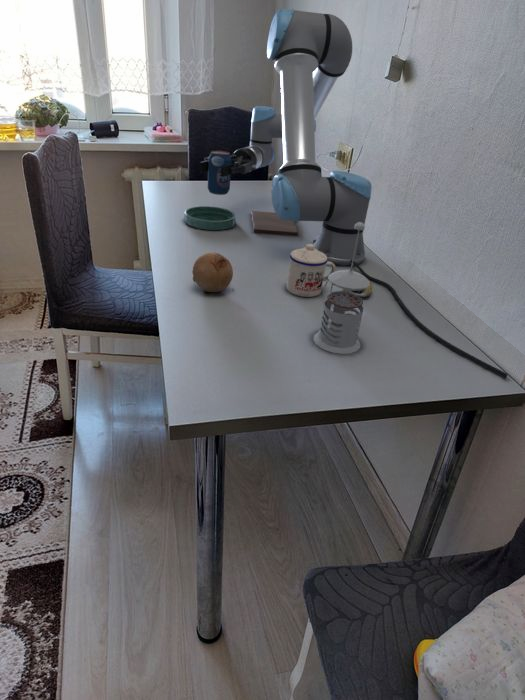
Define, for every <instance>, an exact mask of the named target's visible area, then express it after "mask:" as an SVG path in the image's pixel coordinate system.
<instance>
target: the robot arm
mask: <svg viewBox="0 0 525 700" xmlns="http://www.w3.org/2000/svg"><path fill="white" fill-rule="evenodd" d="M266 44H267V45H266V46H267V47H266V56H267V59H268V60H270V61H271V62H272V61H274V70H275V72H276V73H277V74H279V76H280V88H281V89H280V93H281V94H280V96H281V113H276V110H275V108H274V107H271V106H264V105H256V106H254V107H253V109H252V114H251V120H250V122H251V124H250V125H251V126H250V138H249V140H250V141H249V145H248V146H245V147H242V148H238V149H236V150H235V151H234V152H233V153H232V154H230V157H231V164H230V165H226V166H223V167H221V176H222V177H224V176H227V175H230V174H231V175H233V174H235V175H236V174H239V173H240V175H246V174H247V173H251V172H253V171H256V170H257V169H260V168H265V167H267V166H268V165H270V164H272V163H273V162H274V160H275V158H276V157H275V156H276V152H275V148H274V147H273V146H272V144H273V139H282V154H283V155H282V157H283V164H282V165H281V166H280V167H279V168H278V170H277V174H275V176H273V178H272V182H271V201H272V205H273V210H274V213H276V214H277V216H278V217H279V218H280V219H282V220H289V221H294V223H295V222H296V223H297V222H322V226H321V229H320V231H319V233H318V235H317V237H316V239H313V241H312V244H313V245H314V246H315V249H317V250H318V251H320V252H322V253H324V254H325V255H326V256H327V259H328V262H332V263H333V264H334V265H335V266H343V267H344V266H346V267H351V265H352V260H353V254H354V249H355V244H356V239H357V234H358V230H356V229H355V228H354V225H355V224H356V223H358V222H361V223H363V224H364V226H365V224H366V219H367V216H368V215H367V214H368V210H369V205H370V200H371V196H372V187H373V186H372V182H371V181H370V180H369V179H367V178H366V177H363V176H361V175H358V174H355V173H351V172H347V171H344V170H331V172H330V173H329V176H323V175H322V166H321V165H319V164H318V162H317V161H316V134H315V132H316V130H317V122H316V121H317V120H316V117H317V116H318V114H319V113H320V110H321V108H322V107H323V105H324V103H325V101H326V99H327V98H328V96H329V94H330V92H331V91H332V89H333V87H334V86H335V83H336V81H337V80H338V78H341V77H342V76H343V75H344V74H345V73H346V71H347V70H348V67H349V66H350V63H351V61H352V56H353V38H352V35H351V32H350V30H349V28H348V26H347V24H346V23H345V22H344V20H342V19H341V18H340V17H338V16H336V15H334V14H331V13H320V12H314V11H313V12H312V11H305V10H304V11H303V10H295V9H294V8H292V9H289V8H279V10H277V11H276V12H275V13H274V16H273V18H272V20H271V24H270V27H269V32H268V38H267V43H266ZM208 163H209V156H208V157H204V160H203V161H199V164H198V165H199V166H198V167H199V168H198V172H200V173H203V172H208ZM231 175H230V176H231ZM365 256H366V251H365V241H364V230H360V231H359V236H358V241H357V246H356V251H355V256H354V261H353V266H354V267H355V268H357V270H358V271H359V273H360V274H361V275H363V276H365V277H366V278H367V279H368V280H369V281H373V282H374V283H378V284H380V285H383V286H384V287H386V288H388V290H389V291H391V293H392V296H393V297H394V298H395V300H396V301H397V302H398V304H399V305H400V307H401V308H402V309H403V311H404V312H405V313H406V314H407V315H408V316H409V318H410V319H411V320H412V321H413V322H414V323H415V324H416V325H417V326H418V327H420V329H422V330H423V331H424V332H426V333H427V334H428V335H430V337H432V338H434V339H435V340H436V341H438V342H439V343H441V344H443V345H444V346H445V347H448V348H450V350H452V351H454V352H456V353H458V354H460V355H461V356H463V357H465V358H467V359H469V360H471V361H473V362H474V363H477V364H478V365H481V366H482V367H484V368H486V369H488V370H489V371H492V372H494V373H496V374H498V375H499V376H502V377H503V378H507V377H508V375H509V374H508V373H506V372H505V371H503V370H501V369H499V368H497V367H495V366H493V365H491V364H489V363H487V362H485V361H483V360H481V359H479V358H477V357H476V356H474V355H472V354H470V353H468V352H467V351H464V350H462V349H461V348H459V347H457V346H455V345H454V344H452V343H450V342H449V341H447V340H445V339H444V338H442V337H441V336H439V335H438V334H436V333H435V332H433V331H432V330H431V329H429V328H428V327H427V326H425V325H424V324H423V323H422V322H420V321H419V320H418V318H417V317H416V316H415V315H413V313H412V312H411V311H410V310H409V308H407V306H406V305H405V304H404V302H403V300H402V299H401V297H399V295H398V294H397V291H396V289H394V287H393V286H391V285H390V284H389V283H388V282H385V281H383V280H381V279H378V278H376V277H373V276H371V275H369V274H367V272H365V271H364V269H363V268H362V267H361V266H360V264H362V263H363V262H364V260H365Z"/></svg>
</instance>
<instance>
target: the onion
mask: <svg viewBox="0 0 525 700" xmlns="http://www.w3.org/2000/svg"><path fill="white" fill-rule="evenodd" d="M191 273H192V280H193V283H196V285H197V286H198V287H199V288H200V289H201V290H202V291H203V292H208V293H219V292H222V291H224V290H225V289H227V288H228V287H229V285H231V282H232V280H233V277H234V270H233V267H232V263H231V262H230V259H228V258H227V257H225V256H224V255H222V254H221V253H218V252H205V253H203V254H201V255H199V257H198V258H197V259H196V260H195V262H194V264H193V266H192V270H191Z"/></svg>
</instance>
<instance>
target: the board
mask: <svg viewBox="0 0 525 700" xmlns="http://www.w3.org/2000/svg"><path fill="white" fill-rule="evenodd" d="M250 212H251V213H250V215H251V223H252V229H253V233H254V234H265V235H277V236H278V235H279V236H293V237H298V234H299V231H298V229H297V226H296V223H295V222H294V221H289V220H282V219H280V218H279V217H278V216H277V214H276V212H271V211H257V210H251V211H250Z"/></svg>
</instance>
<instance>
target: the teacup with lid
mask: <svg viewBox="0 0 525 700" xmlns="http://www.w3.org/2000/svg"><path fill="white" fill-rule="evenodd" d="M288 266H289V267H288V274H287V282H286V290H287V291H288V292H289V293H290V294H292V295H295V296H298V297H303V298H313V297H317V296H319V295H320V294H321V293H322V290H323V285H324V284H323V283H324V282H327V280H329V279H328V276H329V275H330V274H331V273H333V272H336V265H334V264H333V263H332V262H328V259H327V256H326V255H325V254H324V253H322V252H320V251H318V250H317V249H315V246H314V244H313V243H307V244H306V245H305V246H304V247H301V248H295V249H293V250H292V251H290V254H289V265H288ZM327 266H330V267H331V270H330V272H329V274H328V275H327V276H325V272H326V267H327Z"/></svg>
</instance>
